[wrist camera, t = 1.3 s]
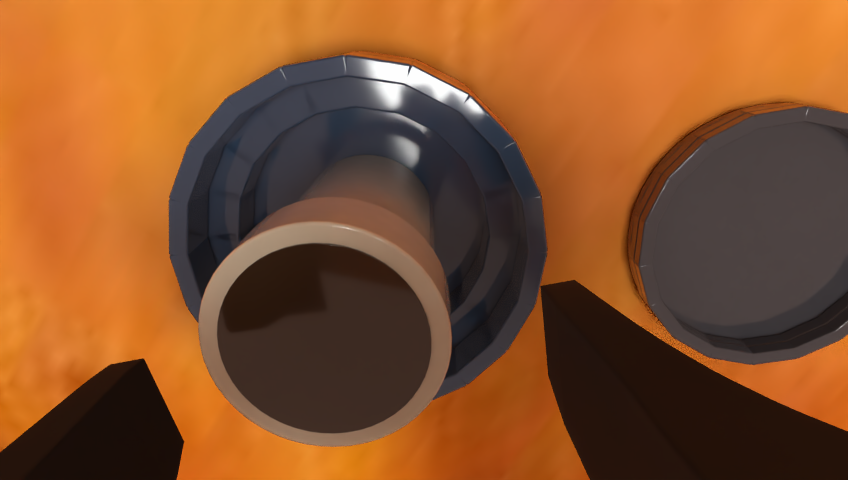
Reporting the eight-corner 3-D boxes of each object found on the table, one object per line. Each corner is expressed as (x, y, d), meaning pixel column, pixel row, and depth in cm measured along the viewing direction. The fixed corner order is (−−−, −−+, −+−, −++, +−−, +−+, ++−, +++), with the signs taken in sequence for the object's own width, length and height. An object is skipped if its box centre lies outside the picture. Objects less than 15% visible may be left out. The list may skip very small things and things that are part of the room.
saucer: (879, 325, 23) (907, 344, 21) (632, 359, 24) (645, 379, 22) (901, 80, 20) (937, 84, 18) (617, 128, 21) (631, 135, 19)
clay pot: (456, 277, 22) (469, 432, 14) (312, 299, 22) (236, 463, 14) (431, 130, 20) (428, 202, 12) (275, 157, 21) (161, 245, 12)
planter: (542, 330, 23) (563, 387, 19) (261, 370, 24) (228, 433, 20) (505, 23, 19) (522, 21, 16) (173, 84, 20) (114, 96, 17)
